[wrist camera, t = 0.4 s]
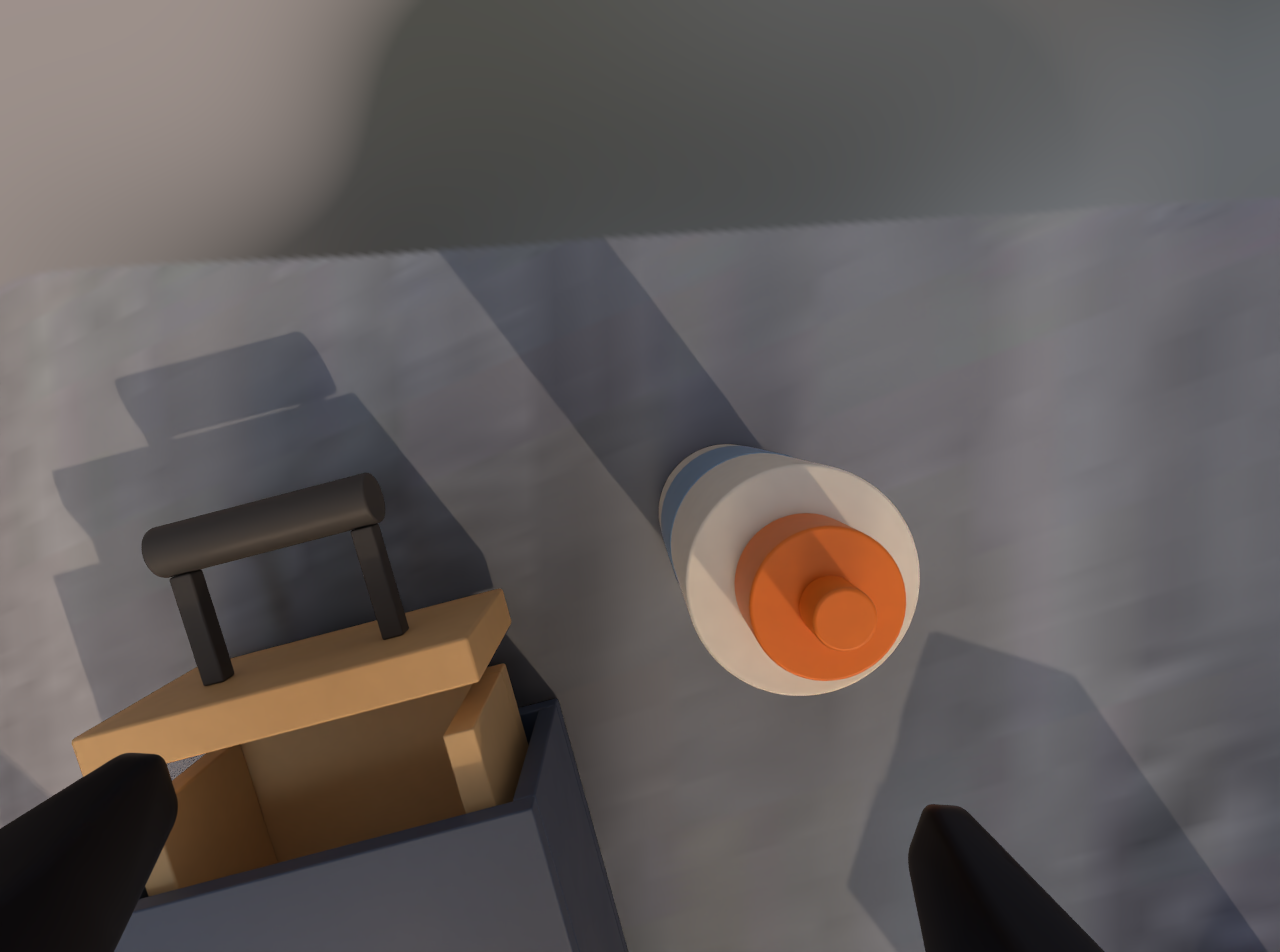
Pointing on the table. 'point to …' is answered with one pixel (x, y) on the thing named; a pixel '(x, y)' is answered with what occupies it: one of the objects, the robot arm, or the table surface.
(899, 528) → the glue bottle
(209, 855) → the drawer
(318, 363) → the table surface
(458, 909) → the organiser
